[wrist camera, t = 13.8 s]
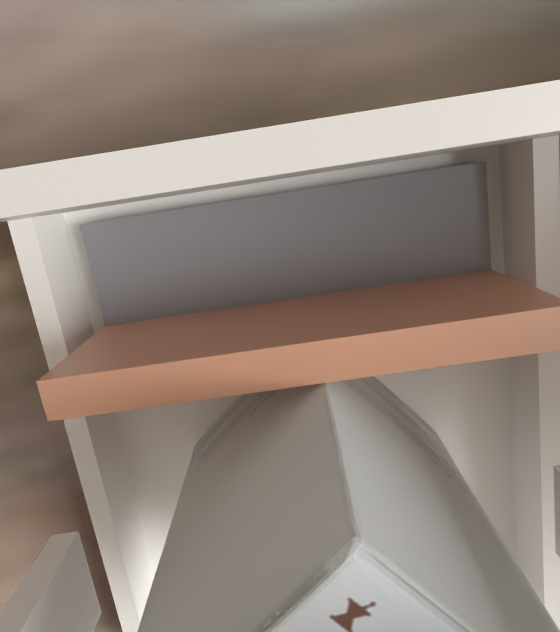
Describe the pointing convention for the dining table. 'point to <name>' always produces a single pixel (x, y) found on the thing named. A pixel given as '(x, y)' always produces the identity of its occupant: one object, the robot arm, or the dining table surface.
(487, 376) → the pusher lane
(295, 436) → the supplement box
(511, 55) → the dining table surface
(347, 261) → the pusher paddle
